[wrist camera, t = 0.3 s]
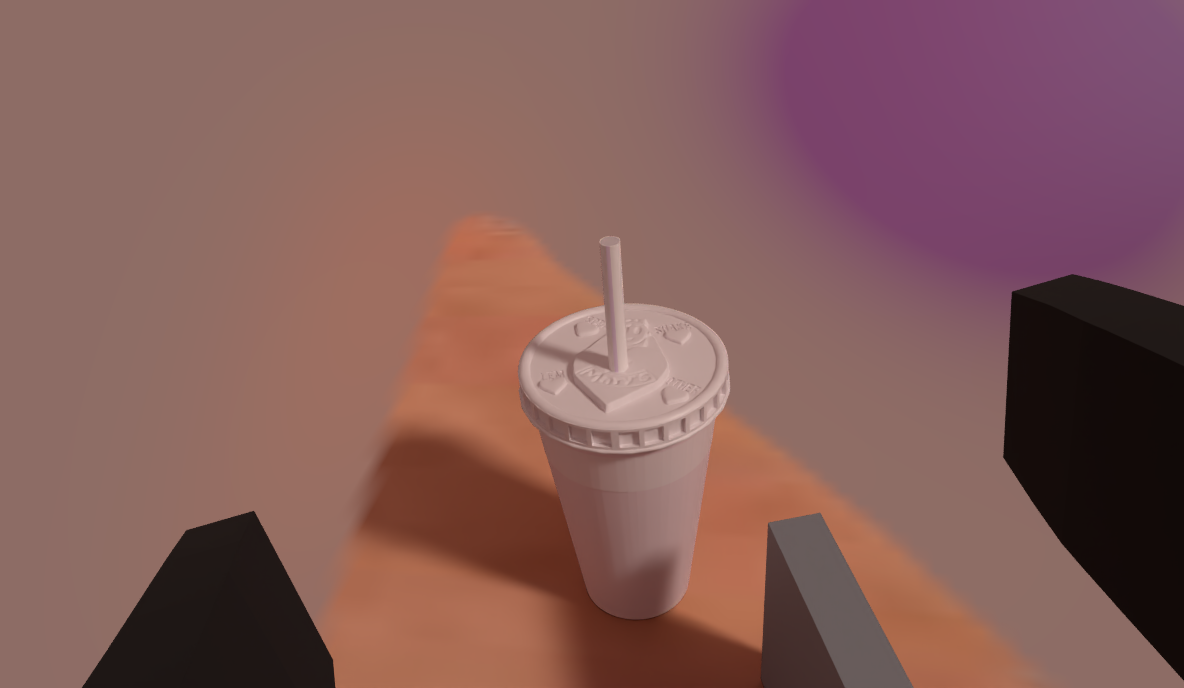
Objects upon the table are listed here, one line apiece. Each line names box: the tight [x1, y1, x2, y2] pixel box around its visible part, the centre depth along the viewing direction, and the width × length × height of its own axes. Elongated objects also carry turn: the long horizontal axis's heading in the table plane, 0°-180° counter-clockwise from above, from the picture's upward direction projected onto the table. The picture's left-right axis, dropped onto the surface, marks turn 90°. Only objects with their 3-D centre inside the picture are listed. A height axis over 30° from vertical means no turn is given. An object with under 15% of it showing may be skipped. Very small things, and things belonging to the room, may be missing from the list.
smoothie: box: [518, 236, 730, 620], centre depth 30 cm, size 6×6×14 cm
